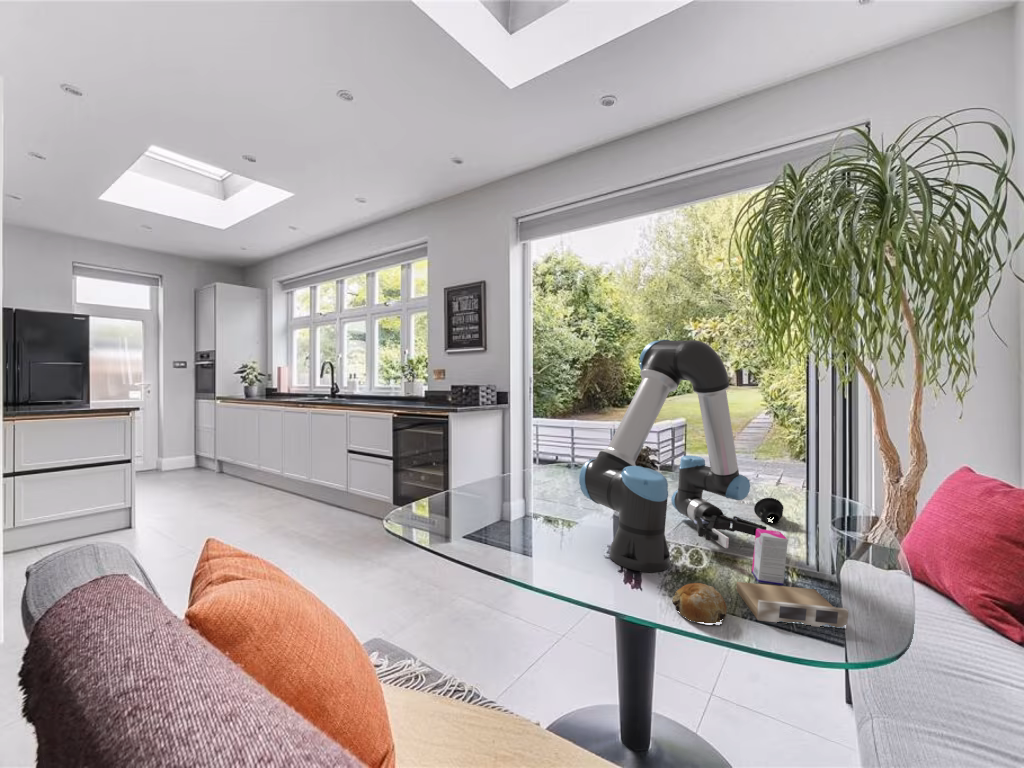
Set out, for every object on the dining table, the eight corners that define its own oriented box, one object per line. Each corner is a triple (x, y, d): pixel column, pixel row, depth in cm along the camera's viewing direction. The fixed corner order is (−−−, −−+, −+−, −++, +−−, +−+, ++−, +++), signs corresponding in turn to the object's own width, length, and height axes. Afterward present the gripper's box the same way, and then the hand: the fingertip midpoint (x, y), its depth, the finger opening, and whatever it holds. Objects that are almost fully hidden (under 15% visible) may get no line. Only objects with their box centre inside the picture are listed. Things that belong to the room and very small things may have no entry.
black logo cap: (754, 511, 157) (743, 480, 173) (764, 538, 159) (751, 505, 176) (785, 505, 153) (770, 474, 170) (794, 532, 156) (778, 500, 173)
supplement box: (784, 586, 115) (788, 539, 114) (757, 582, 116) (761, 536, 115) (776, 575, 120) (780, 530, 120) (750, 572, 122) (754, 527, 121)
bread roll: (703, 647, 95) (724, 618, 92) (660, 607, 101) (679, 579, 98) (721, 627, 102) (740, 600, 100) (679, 591, 108) (697, 565, 105)
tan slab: (758, 621, 99) (760, 602, 98) (736, 590, 111) (737, 573, 111) (847, 630, 97) (848, 611, 96) (813, 597, 110) (815, 580, 109)
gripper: (741, 526, 149) (792, 555, 128) (666, 527, 145) (705, 557, 124) (743, 502, 148) (794, 528, 127) (668, 502, 144) (708, 529, 123)
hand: (751, 542), depth 126 cm, fingers open, 13 cm apart
